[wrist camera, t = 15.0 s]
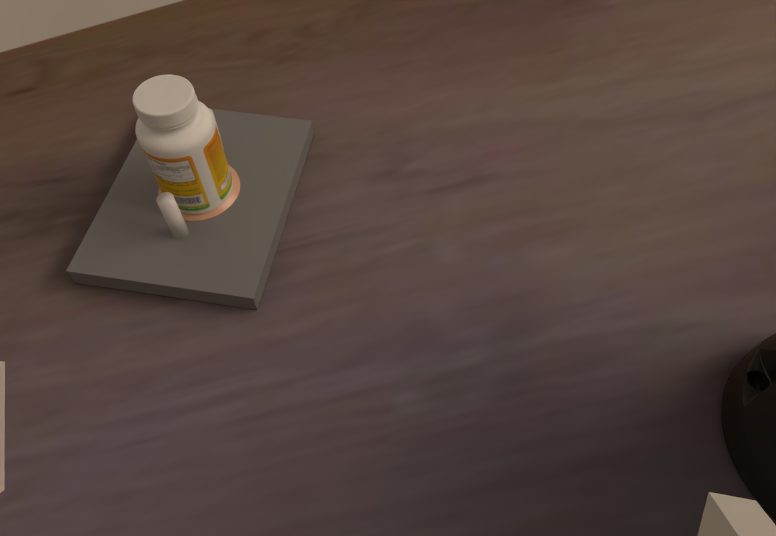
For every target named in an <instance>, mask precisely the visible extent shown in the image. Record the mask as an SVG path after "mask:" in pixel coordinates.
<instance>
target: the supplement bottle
mask: <svg viewBox="0 0 776 536" xmlns="http://www.w3.org/2000/svg"><path fill="white" fill-rule="evenodd" d="M133 105H134V107H135V110H136V112H137V115H138V117H139V118H138V120H137V122H136V129H135V131H136V137H137V139H138V142H139V144H140V147H141V149H142V151H143V153H144V155H145V157H146V159H147V161H148V163H149V165H150V167H151V170H152V172H153V174H154V176H155V178H156V180H157V182H158V184H159V187H160V189H161V191H162V193H164V192H169V193H172V194H173V196H174V198H175V200H176V203H177V205H178V207H179V210H180V212H182V213H186V214H202V213H206V212H210V211H212V210H214V209H216V208H217V207H219V206H220V205H221V204H223V203H224V202H225V201H226V199H227V198H228V197H229V195H230V193H231V191H232V187H233V180H232V175H231V172H230V169H229V166H228V163H227V159H226V156H225V153H224V149H223V146H222V143H221V140H220V137H219V133H218V130H217V127H216V124H215V121H214V118H213V115H212V113H211V112H210V110H209V109H208V108H207V107H206V106H205V105H204V104H203V103H201V102H199V101H198V100H197V97H196V94H195V91H194V88H193V86H192V85H191V83H190V82H189V81H188V80H187V79H185V78H183V77H181V76H177V75H160V76H156V77H153V78H150V79H148V80H146V81H145V82H143V83H142V84H141V85H139V86H138V88H137V89H136V90H135V92H134V95H133Z"/></svg>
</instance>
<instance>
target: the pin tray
mask: <svg viewBox="0 0 776 536" xmlns="http://www.w3.org/2000/svg"><path fill="white" fill-rule="evenodd" d="M208 109H209V110H210V112H211V113H212V115H213V118H214V121H215V124H216V127H217V130H218V133H219V137H220V140H221V143H222V146H223V149H224V153H225V156H226V159H227V163H228V166H229V169H230V172H231V175H232V180H233V187H232V191H231V193H230V195H229V197H228V198H227V199H226V201H225V202H224V203H223V204H221V205H220V206H219V207H217V208H216V209H214V210H212V211H210V212H206V213H202V214H186V213H182V212H180V210H179V207H178V205H177V203H176V200H175V198H174V196H173V194H172V193H169V192H164V193H162V191H161V189H160V187H159V184H158V182H157V180H156V178H155V176H154V174H153V172H152V170H151V167H150V165H149V163H148V161H147V159H146V157H145V155H144V153H143V151H142V149H141V147H140V144H139V142H138V139H137V140H136V142H135V144H134V146H133V148H132V149H131V151H130V153H129V155H128V157H127V159H126V161H125V162H124V164H123V166H122V168H121V170H120V172H119V174H118V175H117V177H116V179H115V181H114V183H113V185H112V187H111V188H110V190H109V192H108V194H107V196H106V198H105V200H104V201H103V203H102V205H101V207H100V209H99V211H98V213H97V214H96V216H95V218H94V220H93V222H92V224H91V226H90V227H89V229H88V231H87V233H86V235H85V237H84V239H83V240H82V242H81V244H80V246H79V248H78V250H77V252H76V253H75V255H74V257H73V259H72V261H71V263H70V265H69V266H68V268H67V270H66V272H67V273H68V274H69V276H70V277H71V278H72V279H73V281H74V282H75V283H79V284H86V285H93V286H100V287H106V288H113V289H120V290H127V291H134V292H140V293H147V294H154V295H161V296H167V297H174V298H181V299H188V300H195V301H201V302H208V303H215V304H222V305H228V306H235V307H242V308H249V309H256V310H257V309H258V306H259V303H260V300H261V297H262V294H263V291H264V287H265V284H266V281H267V278H268V275H269V272H270V269H271V266H272V263H273V260H274V256H275V253H276V250H277V247H278V244H279V241H280V238H281V235H282V232H283V229H284V225H285V222H286V219H287V216H288V213H289V210H290V207H291V204H292V201H293V198H294V194H295V191H296V188H297V185H298V182H299V179H300V176H301V173H302V170H303V167H304V163H305V160H306V157H307V154H308V151H309V148H310V145H311V142H312V139H313V135H314V132H313V124H312V121H310V120H301V119H293V118H285V117H276V116H268V115H259V114H251V113H243V112H234V111H226V110H217V109H210V108H208Z"/></svg>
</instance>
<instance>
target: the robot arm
mask: <svg viewBox="0 0 776 536" xmlns="http://www.w3.org/2000/svg"><path fill="white" fill-rule="evenodd" d="M722 423H723V430H724V435H725V439H726V443H727V446H728V449H729V452H730V454H731V457H732V459H733V461H734V463H735V466H736V468H737V470H738V471H739V473H740V475H741V477H742V479H743V480H744V482H745V483H746V485H747V486H748V488H749V489H750V491H751V492H752V494H753V495H754V496H755V497H756V499H757V500H758V501H759V503H760V504H761V505H762V506H763V507H764V508H765V509H766V511H767V512H768V513H769V514H770V515H771V516H772V517H773V518H774V519H775V520H776V334H774V335H772V336H770V337H768V338H767V339H765V340H764V341H762V342H761V343H760V344H759V345H758V346H756V347H755V348H754V349H753V350H752V351H751V352H750V353H749V354H747V355H746V356H745V357H744V358H743V359H742V360H741V361H740V362H739V363H738V364H737V366H736V367H735V368H734V370H733V371H732V373H731V375H730V377H729V379H728V381H727V384H726V387H725V390H724V395H723V400H722ZM4 437H5V362H2V361H0V493H1V492H2V491H4ZM698 536H776V525H775V524H774V523H773V521H772V520H771V519H770V518H769V516H768V515H767V514H766V513H765V511H764V510H763V509H762V508H761V506H760V505H759V504H758V503H757V501H756V500H750V499H745V498H739V497H734V496H728V495H723V494H718V493H712V492H709V493H708V496H707V500H706V504H705V508H704V512H703V516H702V520H701V524H700V528H699V532H698Z"/></svg>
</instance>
